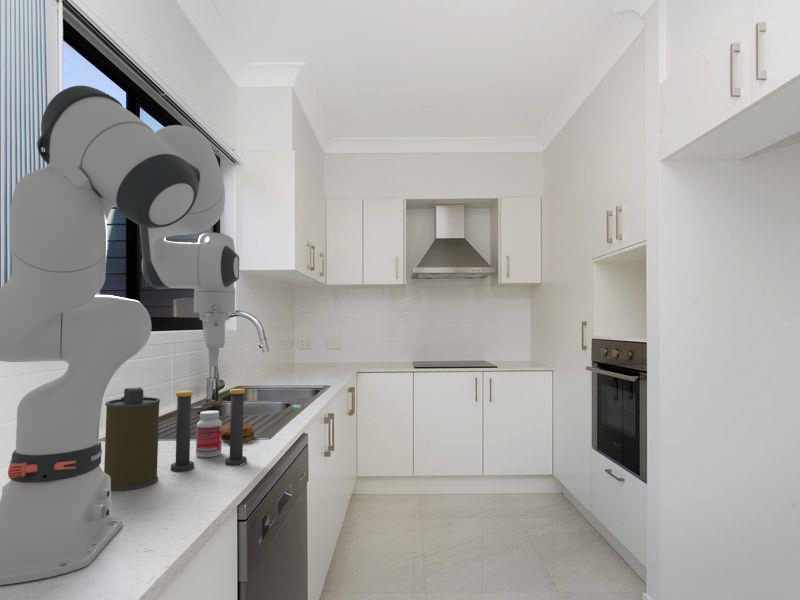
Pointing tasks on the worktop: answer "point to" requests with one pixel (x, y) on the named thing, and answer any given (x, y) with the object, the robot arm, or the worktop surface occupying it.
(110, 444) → the canister
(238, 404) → the post right
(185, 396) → the post left
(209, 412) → the pill bottle
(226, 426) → the burger
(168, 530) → the worktop surface
